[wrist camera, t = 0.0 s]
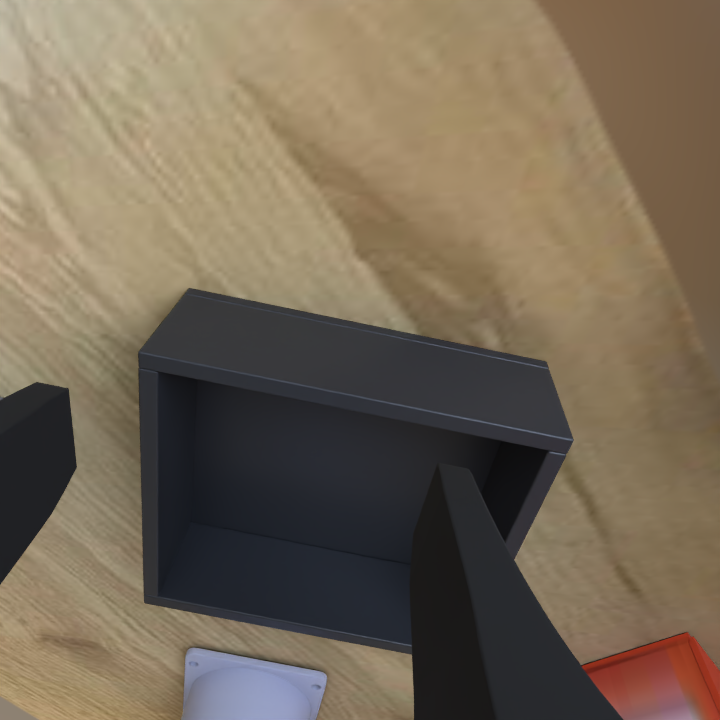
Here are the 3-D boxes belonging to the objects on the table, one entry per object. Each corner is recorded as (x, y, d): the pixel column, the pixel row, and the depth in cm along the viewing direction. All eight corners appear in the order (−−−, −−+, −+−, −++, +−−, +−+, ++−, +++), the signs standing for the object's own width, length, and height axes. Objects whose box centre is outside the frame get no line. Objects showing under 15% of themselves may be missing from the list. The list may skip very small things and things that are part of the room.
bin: (456, 573, 28) (462, 665, 24) (181, 519, 27) (143, 603, 24) (546, 361, 21) (574, 440, 17) (188, 287, 21) (137, 351, 17)
